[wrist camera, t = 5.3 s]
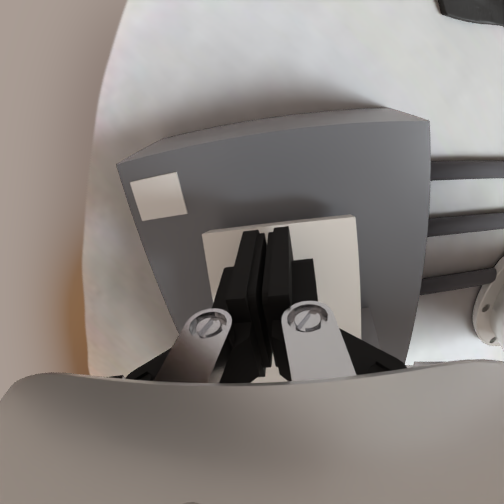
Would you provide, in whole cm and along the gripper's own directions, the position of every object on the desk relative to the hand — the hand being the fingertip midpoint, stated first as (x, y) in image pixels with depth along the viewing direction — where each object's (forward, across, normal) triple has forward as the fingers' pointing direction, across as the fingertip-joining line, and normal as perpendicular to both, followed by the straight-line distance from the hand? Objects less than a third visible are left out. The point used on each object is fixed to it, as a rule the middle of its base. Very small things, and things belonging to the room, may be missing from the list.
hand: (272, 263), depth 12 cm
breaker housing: (+9, 0, +7) cm, 11 cm away
